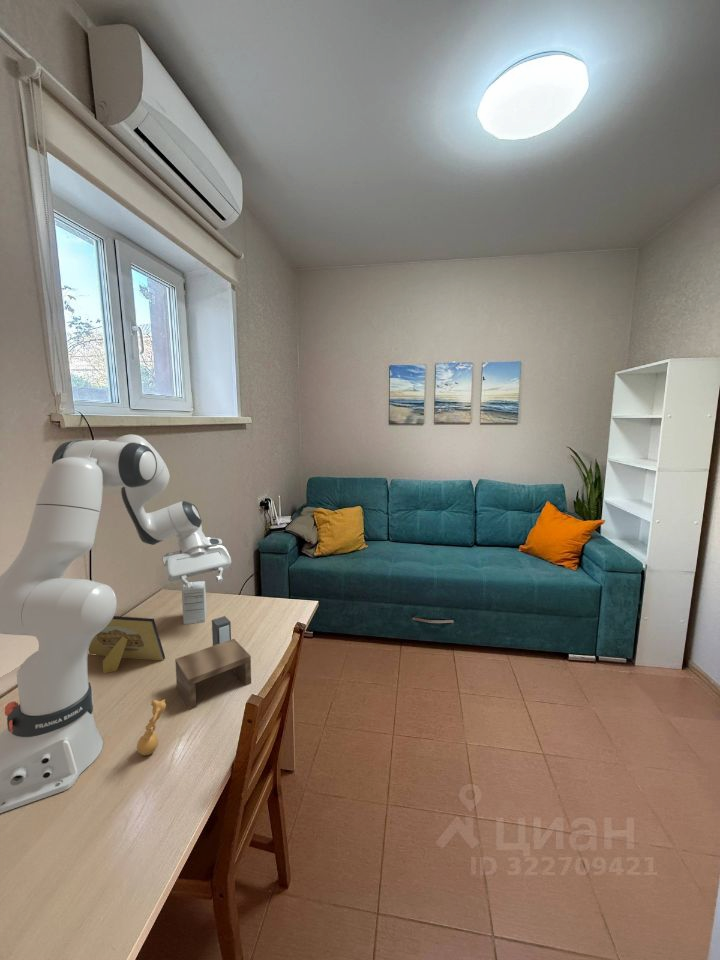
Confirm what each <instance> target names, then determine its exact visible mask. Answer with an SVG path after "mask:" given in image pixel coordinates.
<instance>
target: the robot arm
mask: <svg viewBox="0 0 720 960" xmlns="http://www.w3.org/2000/svg"><path fill="white" fill-rule="evenodd" d="M169 482H170V471H169V469H168V466H167V464H166V462H165V461H164V459H163V457H161V455H160V454H159V452H158V451H157V450H156V449H155V447H154V446H152V445H151V443H150V442H148V441H147V440H146V439H145V438H144V437H143V436H140V435H139V434H130V433H129V434H125V435H121V436H119V437H118V438H116V439H115V440H107V439H88V440H82V439H76V440H70V441H66V442H63V443H61V444H59V446H58V447H57V448H56V449H55V451H54V453H53V455H52V458H51V466H50V467H49V469H48V471H47V472H46V475H45V477H44V479H43V482H42V484H41V486H40V489H39V492H38V495H37V499H36V502H35V505H34V509H33V515H32V517H31V521H30V524H29V528H28V532H27V534H26V538H25V541H24V543H23V544H22V547H21V550H20V551H19V553H18V555H17V556H16V557H15V559H14V560H13V562H12V563H11V565H9V567H8V568H7V569H6V570H5V571H4V572H3V573H2V574H0V634H1V635H11V636H31V637H35V638H36V639H37V641H38V642H37V643H38V650H37V651H35V652H33V653H31V654H30V656H28V657H27V658H26V659H25V660H24V661H23V663H21V664H20V666H19V668H18V670H17V672H16V673H17V674H16V680H17V693H18V700H19V704H18V702H16V701H10V702H8V703H6V705H5V707H4V715H5V716H6V718H7V719H6V723H7V725H6V726H7V727H6V728H5V729H4V730H2V731H1V732H0V814H2V813H5V812H8V811H10V810H13V809H17V808H20V807H22V806H25V805H28V804H30V803H33V802H37V801H39V800H42V799H44V798H47V797H50V796H53V795H56V794H59V793H63V792H65V791H67V790H68V789H70V788H71V787H72V786H73V785H74V784H75V783H76V781H77V779H78V778H79V776H80V775H81V773H83V772H84V771H85V770H86V769H87V768H88V767H90V765H92V764H93V762H95V760H96V759H97V758H98V757H99V755H100V753H101V751H102V749H103V747H104V746H103V745H104V741H103V738H102V735H101V734H100V732H99V730H98V727H97V725H96V722H95V719H94V717H95V716H94V715H93V711H94V693H93V688H92V686H91V682H89V672H88V670H89V669H88V667H89V666H88V656H89V655H88V654H89V646H90V644H91V642H92V640H93V638H94V637H95V636H96V635H97V634H98V633H100V632H101V631H102V630H104V629H105V628H106V627H107V626H108V624H109V623H110V622H111V620H112V619H113V617H114V616H115V614H116V611H117V606H118V603H117V602H118V600H117V596H116V593H115V591H114V589H113V588H112V587H111V585H110V586H109V585H108V584H105V583H103V582H102V583H101V582H98V581H94V580H91V579H86V578H84V579H83V578H68V577H66V578H65V577H64V575H65V573H66V571H67V569H68V567H69V566H70V565H71V564H72V563H73V562H74V561H75V560H76V559H78V558H81V557H82V556H85V555H87V553H89V552H90V551H91V549H92V548H93V546H94V544H95V540H96V534H97V529H98V523H99V519H100V514H101V509H102V505H103V504H102V503H103V493H104V488H120V492H121V493H120V494H121V498H122V502H123V504H124V506H125V509H126V511H127V513H128V515H129V517H130V519H131V521H132V523H133V525H134V527H135V530H136V534H137V536H138V538H139V539H140V540H141V542H142V543H144V544H147V545H153V546H154V545H157V544H159V543H161V542H163V541H164V540H166V539H169V538H171V537H173V536H176V539H177V545H178V549H179V550H178V551H174V552H167V553H165V555H163V556H162V559H161V560H162V563H163V564H162V565H164V567H165V574H166V579H167V580H168V581H170V582H173V581H178V580H180V583H181V584H182V585H185V586H186V587H187V590H191V589H193V585H192V582H193V581H190V583H189V581H188V580H187V578H190V577H191V578H192V577H195V576H199V575H204V574H208V573H213V572H216V573H217V574H218V575H216V577H215V580H216V583H222V582H223V576H222V575H223V570H225V569H229V568H230V566H231V564H232V557H231V555H230V554H229V551H228V549H227V548H226V547H225V546H224V545H223V540H222V539H221V538H217V537H216V538H215V537H207V536H206V535H205V533H204V532H203V525H202V519H201V514H200V512H199V510H198V508H197V506H196V505H195V504H193V503H191V502H189V501H186V500H182V501H178V502H176V503H173V504H170V505H168V506H166V507H162V508H161V509H157V510H155V511H151V512H146V509H145V508H144V506H145V505H146V504H147V503H148V502H150V501H151V500H153V499H155V498H157V497H158V496H159V495H161V493H163V492H164V491H165V489H166V488H167V486H168V484H169ZM63 577H64V578H63Z"/></svg>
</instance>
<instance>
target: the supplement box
mask: <svg viewBox="0 0 720 960" xmlns="http://www.w3.org/2000/svg"><path fill="white" fill-rule="evenodd" d="M188 582H189V581H188ZM190 582H192V585H193V589H191V590H187V587H186V586H185V585H184V584H182V585H183V586H182V590H181V597H182V598H181V602H182V603H181V605H182V621H183V623H182V624H183V625H190V624H198V623H199V624H200V623H205V622H206V620H207V619H206V618H207V596H206V595H207V594H206V581H205V580H200V581H198V580H197V581H190ZM190 582H189V583H190Z"/></svg>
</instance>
